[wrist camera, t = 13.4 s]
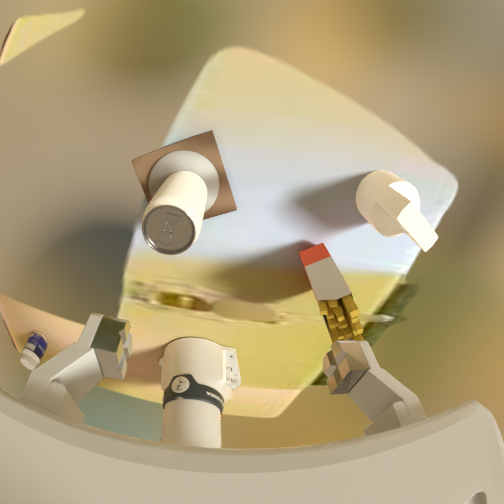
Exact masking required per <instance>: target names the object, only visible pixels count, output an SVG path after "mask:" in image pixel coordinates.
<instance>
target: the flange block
mask: <svg viewBox="0 0 504 504" xmlns="http://www.w3.org/2000/svg"><path fill="white" fill-rule="evenodd" d="M132 163H133V166H134V168H135V171H136V173H137V176H138V178H139V181H140V183H141V186H142V188H143V190H144V193H145V195H146V198H147V200H148V203H150V201H151V200H152V198H153V197H154V195H155V194H156V193H157V191H158V190H159V188H160V187H161V186H162V184H163V183H164V182H165V180H166V179H167V178H168V177H169V176H170V175H172V174H174V173H176V172H179V171H189V172H193V173H195V174H197V175H198V176H199V177H201V178H202V180H203V181H204V183H205V184H206V187H207V200H206V206H205V211H204V216H203V220H204V219H208V218H211V217H214V216H218V215H221V214H225V213H228V212H232V211H235V210H237V207H236V204H235V201H234V198H233V195H232V192H231V188H230V185H229V182H228V179H227V176H226V172H225V169H224V166H223V163H222V160H221V157H220V153H219V150H218V147H217V144H216V141H215V137H214V134H213V131H209V132H206V133H203V134H200V135H197V136H194V137H191V138H188V139H185V140H182V141H179V142H176V143H174V144H171V145H168V146H166V147H163V148H160V149H158V150H155V151H153V152H150V153H148V154H145V155H143V156H140V157H138V158H136V159H133V160H132Z"/></svg>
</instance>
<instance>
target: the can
mask: <svg viewBox="0 0 504 504" xmlns="http://www.w3.org/2000/svg"><path fill="white" fill-rule="evenodd" d="M206 200H207V187H206V184H205V183H204V181H203V180H202V178H201V177H199V176H198V175H197V174H195V173H193V172H189V171H179V172H176V173H174V174H172V175H170V176H169V177H168V178H167V179H166V180H165V182H164V183H163V184H162V186H161V187H160V188H159V190H158V191H157V193H156V194H155V195H154V197H153V198H152V200H151V201H150V203H149V204H148V206H147V207H146V209H145V211H144V214H143V219H142V233H143V236H144V239H145V241H146V242H147V244H148V245H149V246H150V247H151V248H152V249H154V250H155V251H157V252H159V253H162V254H166V255H176V254H180V253H182V252H184V251H186V250H187V249H188V248H189V247H190V246H191V245H192V244H193V243H194V242H195V240H196V239H197V237H198V235H199V233H200V230H201V226H202V221H203V216H204V211H205V206H206Z"/></svg>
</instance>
